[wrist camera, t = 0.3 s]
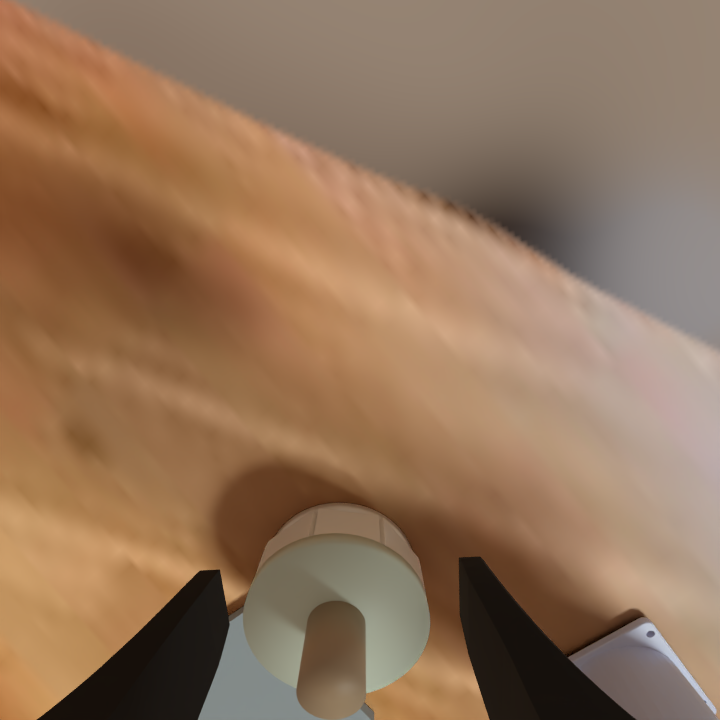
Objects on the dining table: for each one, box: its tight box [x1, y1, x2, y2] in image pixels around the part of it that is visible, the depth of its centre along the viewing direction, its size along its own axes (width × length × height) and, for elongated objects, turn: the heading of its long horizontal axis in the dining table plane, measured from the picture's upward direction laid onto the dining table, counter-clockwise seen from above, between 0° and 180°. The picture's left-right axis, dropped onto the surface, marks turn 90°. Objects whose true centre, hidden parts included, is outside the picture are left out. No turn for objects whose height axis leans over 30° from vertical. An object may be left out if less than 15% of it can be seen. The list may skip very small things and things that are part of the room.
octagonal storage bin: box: [255, 503, 426, 593], centre depth 21 cm, size 9×9×3 cm
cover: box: [243, 533, 430, 720], centre depth 18 cm, size 10×10×4 cm
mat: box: [198, 606, 374, 720], centre depth 25 cm, size 12×10×1 cm
